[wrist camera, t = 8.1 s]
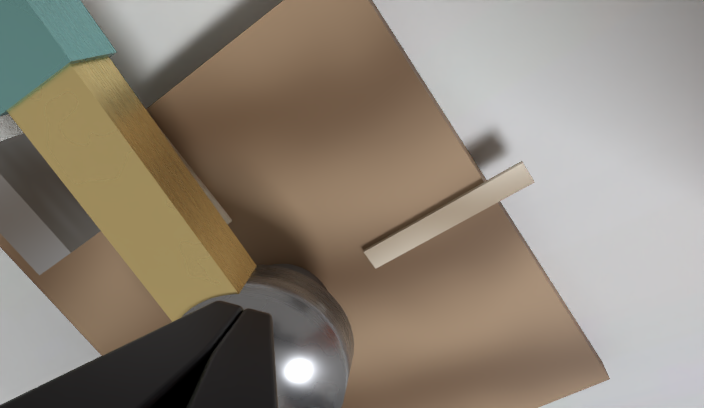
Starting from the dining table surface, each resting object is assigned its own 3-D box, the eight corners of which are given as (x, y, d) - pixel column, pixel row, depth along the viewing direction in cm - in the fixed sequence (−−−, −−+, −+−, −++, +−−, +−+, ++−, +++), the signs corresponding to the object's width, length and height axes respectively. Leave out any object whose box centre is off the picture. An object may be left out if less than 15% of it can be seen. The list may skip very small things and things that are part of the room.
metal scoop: (385, 370, 19) (379, 416, 17) (252, 423, 21) (233, 469, 19) (101, -53, 15) (49, -59, 13) (-33, 59, 17) (-97, 68, 15)
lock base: (636, 348, 21) (694, 450, 16) (261, 501, 27) (225, 606, 22) (353, -117, 16) (321, -158, 12) (-20, 196, 23) (-135, 250, 18)
